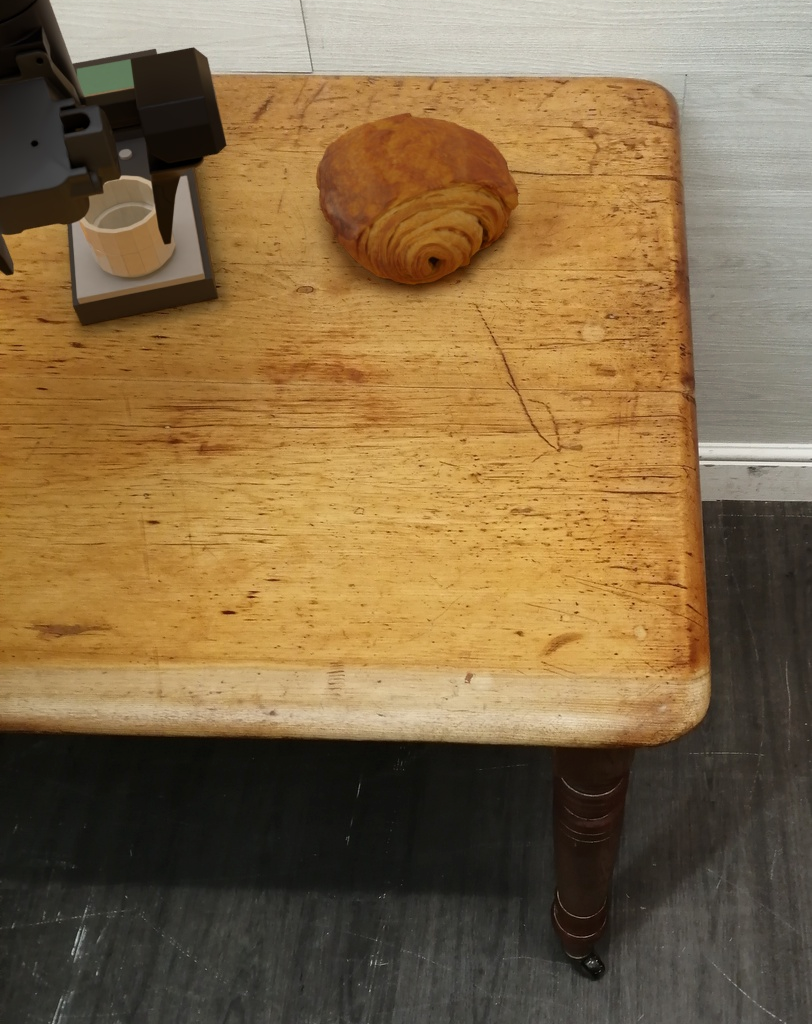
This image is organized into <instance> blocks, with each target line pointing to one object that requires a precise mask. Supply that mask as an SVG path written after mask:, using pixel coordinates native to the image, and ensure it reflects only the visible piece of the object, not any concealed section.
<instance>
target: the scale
mask: <svg viewBox="0 0 812 1024" xmlns="http://www.w3.org/2000/svg"><path fill="white" fill-rule="evenodd" d="M153 54H158V51H157V49H156V48H151V49H145V50H140V51H134V52H129V53H123V54H117V55H113V56H107V57H106V56H105V57H100V58H96V59H90V60H85V61H79V62H72V64H73V66H74V69H75V72H76V75H77V78H78V80H79V83H80V86H81V89H82V91H83V94H84V95H90V94H95V93H101V92H106V91H111V90H117V89H122V88H128V87H133V86H134V82H133V75H132V68H131V60H130V59H131V58H137V57H142V56H148V55H153ZM113 135H114V138H115V143H116V149H117V154H118V159H119V164H120V169H121V176H124V175H125V176H139V177H142V178H144V179H147V180H149V181H151V178H150V173H149V167H148V159H147V152H146V145H145V138H144V135H143V131H142V128H141V129H136V130H130V131H125V132H120V133H114V134H113ZM66 226H67V240H68V255H69V270H70V284H71V285H70V286H71V300H72V308H73V309H74V312H75V314H76V316H77V318H78V320H79V322H80V324H81V326H85V325H90V324H95V323H99V322H105V321H110V320H116V319H119V318H125V317H129V316H135V315H140V314H145V313H150V312H154V311H160V310H164V309H169V308H174V307H175V308H176V307H179V306H185V305H190V304H194V303H199V302H203V301H204V302H205V301H209V300H214V299H218V298H219V295H218V289H217V284H216V279H215V274H214V267H213V261H212V257H211V251H210V244H209V240H208V234H207V229H206V223H205V218H204V212H203V207H202V202H201V196H200V190H199V184H198V178H197V173H196V168H193V169H189V170H186V171H185V172H184V173H183V174H182V175H181V177H180V180H179V184H178V188H177V191H176V197H175V205H174V216H173V227H172V230H173V233H174V238H175V248H174V250H173V252H172V255H171V257H170V258H169V259H168V260H167V261H166V263H165V264H164V265H163V266H162V267H160V268H159V269H158V270H156V271H154V272H152V273H150V274H148V275H145V276H141V277H134V278H126V277H120V276H116V275H113V274H110V273H108V272H106V271H104V270H102V269H101V267H100V266H99V265H98V264H97V262H96V261H95V259H94V256H93V254H92V252H91V249H90V247H89V244H88V242H87V240H86V237H85V235H84V233H83V230H82V228H81V225H80V223H79V221H77V222H75V223H71V224H66Z"/></svg>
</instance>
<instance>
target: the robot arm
mask: <svg viewBox="0 0 812 1024" xmlns="http://www.w3.org/2000/svg"><path fill="white" fill-rule="evenodd" d="M130 60H131V68H132V75H133V82H134V86H133V87H128V88H122V89H117V90H111V91H106V92H101V93H95V94H90V95H84V94H83V91H82V89H81V86H80V83H79V80H78V78H77V75H76V72H75V69H74V66H73V62H72V59H71V56H70V52H69V50H68V47H67V45H66V41H65V38H64V37H63V33H62V31H61V27H60V25H59V23H58V19H57V17H56V14H55V11H54V9H53V6H52V3H51V0H0V272H1V273H3V274H4V276H11V275H12V276H13V275H14V273H15V269H14V268H15V267H14V261H13V258H12V256H11V253H10V250H9V248H8V245H7V243H6V241H5V238H4V236H12V235H13V236H14V235H19V234H22V233H23V232H24V231H26V230H27V231H28V230H32V229H37V228H44V227H48V226H53V225H54V226H55V225H62V226H67V224H71V223H75V222H77V221H79V220H81V219H82V218H83V217H85V215H86V214H87V212H88V210H89V207H90V202H89V196H93V195H99V194H103V193H104V191H103V185H104V184H105V183H106V182H108V181H113V180H118V179H120V177H121V169H120V164H119V159H118V154H117V149H116V143H115V138H114V135H113V134H114V133H120V132H125V131H130V130H136V129H141V128H142V131H143V135H144V138H145V145H146V152H147V159H148V167H149V173H150V178H151V184H152V191H153V197H154V204H155V210H156V216H157V223H158V229H159V232H160V234H161V237H162V240H163V243H164V244H165V245H167V244H171V238H172V227H173V216H174V205H175V197H176V191H177V188H178V184H179V180H180V177H181V175H182V174H183V173H184V172H185V171H186V170H189V169H193V168H195V169H198V168H199V167H201V166H202V165H203V163H204V161H205V158H206V157H210V156H215V155H219V154H220V153H221V152H222V150H224V149H225V148H226V147H227V140H226V135H225V132H224V131H225V130H224V126H223V122H222V121H223V120H222V116H221V112H220V107H219V103H218V97H217V94H216V93H217V92H216V88H215V83H214V79H213V75H212V71H211V67H210V63H209V59H208V57H207V55H205V54H203V53H202V52H200V51H199V50H198V49H197V48H195V46H194V47H188V48H181V49H177V50H170V51H166V52H160V53H157V54H153V55H148V56H142V57H137V58H131V59H130ZM3 235H4V236H3Z"/></svg>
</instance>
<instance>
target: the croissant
mask: <svg viewBox="0 0 812 1024" xmlns="http://www.w3.org/2000/svg"><path fill="white" fill-rule="evenodd" d="M318 162H319V163H318V165H317V168H316V174H315V175H316V176H315V178H316V180H315V181H316V186H317V189H318V191H319V195H318V198H319V207H320V210H321V212H322V214H323V216H324V219H325V221H326V222H327V223H328V224H330V226H331V228H332V232H333V235H334V236H335V237H336V238H337V242H338V243H339V244H340V245H341V246H342V247H343V248H344V249H345V250H346V252H347V253H348V255H350V256H351V258H352V259H353V260H354V261H356V262H357V263H358V264H359V265H360V266H362V267H363V268H364V269H366V270H368V271H370V272H371V273H372V274H373V275H375V276H376V277H377V278H382V279H390V280H392V281H394V282H395V283H401V284H407V285H418V284H426V283H432V282H435V281H437V280H440V279H441V278H443V277H444V276H447V275H449V274H451V273H453V272H455V271H456V270H457V269H458V268H459V267H461V268H462V267H466V266H468V265H469V264H470V261H471V258H472V257H473V256H475V254H476V253H478V252H480V251H481V250H484V249H486V248H489V247H490V246H491V245H492V244H493V243H494V242H496V241H497V240H498V239H499V238H500V237H501V235H502V234H503V233H505V229H506V228H508V227H509V225H508V221H509V219H510V215H511V213H512V211H515V209H517V207H518V206H519V204H520V203H519V202H520V201H519V189H518V186H517V184H516V180H515V179H514V177H513V175H512V174H511V173H510V170H509V167H508V161H507V160H506V158H505V156H504V155H503V154H502V153H501V151H500V150H499V149H498V148H497V147H496V146H495V144H494V143H493V141H491V140H490V139H489V138H487V137H486V136H485V135H484V134H481V133H479V132H477V131H475V130H474V129H472V128H467V127H464V126H461V125H459V124H457V123H456V122H453V121H448V120H446V119H441V118H440V119H438V118H433V117H420V116H414V115H412V113H411V112H405V113H399V114H396V115H391V116H387V117H384V118H380V119H376V120H374V121H371V122H369V121H368V122H365V123H362V124H360V125H357V126H355V127H352V128H351V129H349V130H348V131H346V132H345V133H344V134H341V135H340V136H339V137H338V138H337V139H336V140H334V141H331V142H330V143H329V144H328V145H327V146H326V148H325V151H324V154H323V156H322V158H321V160H320V161H318Z"/></svg>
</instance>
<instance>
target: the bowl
mask: <svg viewBox="0 0 812 1024" xmlns="http://www.w3.org/2000/svg"><path fill="white" fill-rule="evenodd" d="M103 191H104V193H103V194H99V195H93V196H89V202H90V207H89V210H88V212H87V214H86V215H85V217H83V218H82V219H81V220H79V223H80V225H81V228H82V230H83V233H84V235H85V237H86V240H87V242H88V244H89V247H90V249H91V252H92V254H93V256H94V259H95V261H96V262H97V264H98V265H99V266H100V267H101V269H102V270H104V271H106V272H108V273H110V274H113V275H116V276H120V277H126V278H134V277H141V276H145V275H148V274H150V273H152V272H154V271H156V270H158V269H159V268H160V267H162V266H163V265H164V264H165V263H166V261H167V260H168V259H169V258H170V257H171V255H172V252H173V250H174V248H175V238H174V233H173V230H172V238H171V244H167V245H165V244H164V243H163V240H162V237H161V234H160V232H159V229H158V223H157V216H156V210H155V204H154V197H153V191H152V184H151V181H149V180H147V179H144V178H142V177H139V176H125V175H124V176H121V177H120V179H118V180H113V181H108V182H106V183H105V184H104V185H103Z"/></svg>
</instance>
